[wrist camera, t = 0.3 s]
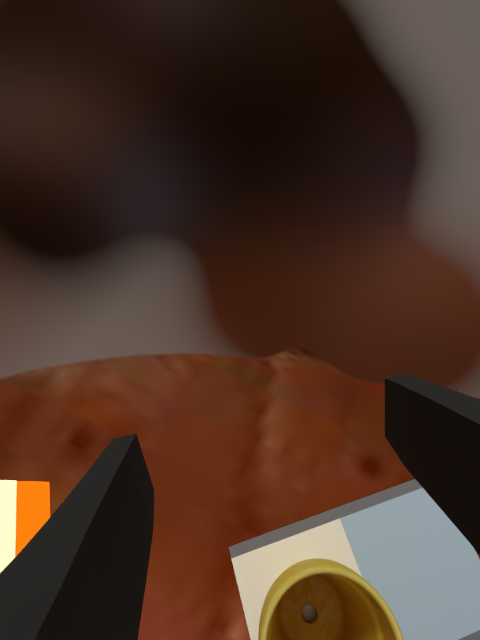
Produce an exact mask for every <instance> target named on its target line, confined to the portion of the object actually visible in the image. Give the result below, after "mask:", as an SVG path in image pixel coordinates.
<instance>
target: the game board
mask: <svg viewBox="0 0 480 640" xmlns="http://www.w3.org/2000/svg"><path fill="white" fill-rule="evenodd" d="M229 551H230V555H231V559H232V563H233V567H234V572H235V576H236V580H237V584H238V588H239V593H240V597H241V601H242V605H243V609H244V614H245V618H246V622H247V626H248V630H249V634H250V639H251V640H258V633H259V621H260V615H261V610H262V607H263V603H264V600H265V598H266V595H267V593H268V591H269V589H270V587H271V586H272V584H273V583H274V581H275V580H276V579H277V578H278V576H279V575H280V574H281V573H282V572H284V571H285V570H286V569H287V568H289V567H290V566H292V565H294V564H295V563H298V562H300V561H303V560H306V559H313V558H322V559H328V560H332V561H336V562H338V563H341V564H343V565H345V566H347V567H348V568H350V569H352V570H353V571H355V572H356V573H357V574H359V575H360V576H361V577H363V578H364V579H365V580H366V581H367V582H368V583H370V584H371V585H372V586H373V587H374V588H375V589H376V590H377V592H378V593H379V594H380V595H381V596H382V598H383V599H384V600H385V602H386V603H387V605H388V606H389V608H390V609H391V611H392V613H393V615H394V617H395V619H396V621H397V623H398V625H399V627H400V630H401V632H402V635H403V638H404V640H480V559H479V557H478V555H477V554H476V552H475V550H474V548H473V546H472V545H471V544H470V543H469V541H468V540H467V539H466V538H465V537H464V536H463V534H462V533H461V532H460V531H459V530H458V529H457V527H456V526H455V525H454V524H453V523H452V521H451V520H450V519H449V518H448V517H447V516H446V514H445V513H444V512H443V511H442V510H441V509H440V507H439V506H438V505H437V504H436V503H435V502H434V500H433V499H432V498H431V497H430V496H429V495H428V493H427V492H426V491H425V490H424V489H423V487H422V486H421V485H420V484H419V483H418V481H417V480H416V479H414V480H411V481H408V482H405V483H403V484H400V485H397V486H394V487H392V488H389V489H386V490H383V491H381V492H378V493H375V494H372V495H370V496H367V497H364V498H361V499H359V500H356V501H353V502H351V503H348V504H345V505H342V506H340V507H337V508H334V509H331V510H329V511H326V512H323V513H320V514H318V515H315V516H312V517H309V518H307V519H304V520H301V521H298V522H296V523H293V524H290V525H288V526H285V527H282V528H279V529H277V530H274V531H271V532H268V533H266V534H263V535H260V536H257V537H255V538H252V539H249V540H246V541H244V542H241V543H238V544H235V545H233V546H230V547H229ZM302 614H303V617H304V618H305V619H306V620H312V619H314V617H315V615H316V611H315V608H314V607H313V606H312V605H310V604H307V605H305V606H304V607H303V611H302Z"/></svg>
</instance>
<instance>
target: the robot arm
mask: <svg viewBox="0 0 480 640" xmlns="http://www.w3.org/2000/svg"><path fill="white" fill-rule="evenodd" d="M385 437H386V438H387V440H388V441H389V443H390V444H391V446H392V448H393V449H394V451H395V452H396V454H397V455H398V457H399V458H400V460H401V461H402V463H403V464H404V466H405V467H406V468H407V469H408V471H409V472H410V473H411V474H412V476H413V477H414V478H415V479H416V480H417V481H418V483H419V484H420V485H421V486H422V487H423V489H424V490H425V491H426V492H427V493H428V495H429V496H430V497H431V498H432V499H433V500H434V502H435V503H436V504H437V505H438V506H439V507H440V509H441V510H442V511H443V512H444V513H445V514H446V516H447V517H448V518H449V519H450V520H451V521H452V523H453V524H454V525H455V526H456V527H457V529H458V530H459V531H460V532H461V533H462V534H463V536H464V537H465V538H466V539H467V540H468V541H469V543H470V544H471V545H472V546H473V548H474V549H475V550H476V551H477V553H478V554H479V555H480V400H479V399H476V398H474V397H471V396H468V395H465V394H462V393H460V392H457V391H454V390H451V389H448V388H446V387H443V386H440V385H437V384H434V383H431V382H429V381H426V380H422V379H420V378H417V377H413V376H410V375H406V374H402V375H398V376H394V377H389V378H385ZM153 520H154V489H153V485H152V482H151V479H150V476H149V473H148V469H147V466H146V463H145V460H144V457H143V454H142V450H141V447H140V444H139V441H138V438H137V435H136V434H132V435H128V436H123V437H119V438H114V439H113V440H112V441H111V442H110V443H109V445H108V446H107V447H106V448H105V450H104V451H103V452H102V454H101V455H100V456H99V457H98V459H97V460H96V461H95V463H94V464H93V465H92V467H91V468H90V469H89V470H88V472H87V473H86V474H85V475H84V477H83V478H82V479H81V480H80V482H79V483H78V484H77V486H76V487H75V488H74V489H73V491H72V492H71V493H70V494H69V496H68V497H67V498H66V499H65V501H64V502H63V503H62V504H61V505H60V507H59V508H58V509H57V510H56V511H55V512H54V514H53V515H52V516H51V517H50V518H49V519H48V520H47V522H46V523H45V524H44V525H43V526H42V527H41V529H40V530H39V531H38V532H37V533H36V534H35V535H34V537H33V538H32V539H31V540H30V541H29V542H28V544H27V545H26V546H25V547H24V548H23V549H22V550H21V551H20V553H19V554H18V555H17V556H16V557H15V558H14V559H13V560H12V561H11V562H10V563H9V564H8V565H7V566H6V568H5V569H4V570H3V571H2V572H1V573H0V640H138V633H139V626H140V619H141V612H142V605H143V598H144V591H145V584H146V578H147V571H148V564H149V557H150V549H151V542H152V535H153Z"/></svg>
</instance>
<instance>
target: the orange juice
mask: <svg viewBox="0 0 480 640" xmlns="http://www.w3.org/2000/svg"><path fill="white" fill-rule="evenodd" d="M49 518H50V494H49V482H32V481H15V480H0V573H1V572H2V571H3V570H4V569H5V568H6V566H7V565H8V564H9V563H10V562H11V561H12V560H13V559H14V558H15V557H16V556H17V555H18V554H19V553H20V551H21V550H22V549H23V548H24V547H25V546H26V545H27V544H28V542H29V541H30V540H31V539H32V538H33V537H34V535H35V534H36V533H37V532H38V531H39V530H40V529H41V527H42V526H43V525H44V524H45V523H46V522H47V520H48V519H49Z"/></svg>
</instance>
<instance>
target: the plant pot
mask: <svg viewBox="0 0 480 640" xmlns="http://www.w3.org/2000/svg"><path fill="white" fill-rule="evenodd" d="M307 604H310V605H312V606H313V607H314V608H315V611H316V615H315V617H314V619H312V620H306V619H305V618H304V617H303V614H302V611H303V607H304V606H305V605H307ZM258 640H404V638H403V635H402V632H401V630H400V627H399V625H398V623H397V621H396V619H395V617H394V615H393V613H392V611H391V609H390V608H389V606H388V605H387V603H386V602H385V600H384V599H383V598H382V596H381V595H380V594H379V593H378V592H377V590H376V589H375V588H374V587H373V586H372V585H371V584H370V583H368V582H367V581H366V580H365V579H364V578H363V577H361V576H360V575H359V574H357V573H356V572H355V571H353V570H352V569H350V568H348V567H347V566H345V565H343V564H341V563H338V562H336V561H332V560H328V559H322V558H313V559H306V560H303V561H300V562H298V563H295V564H294V565H292V566H290V567H289V568H287V569H286V570H285V571H284V572H282V573H281V574H280V575H279V576H278V578H277V579H276V580H275V581H274V583H273V584H272V586H271V587H270V589H269V591H268V593H267V595H266V598H265V600H264V603H263V607H262V610H261V615H260V621H259V633H258Z"/></svg>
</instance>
